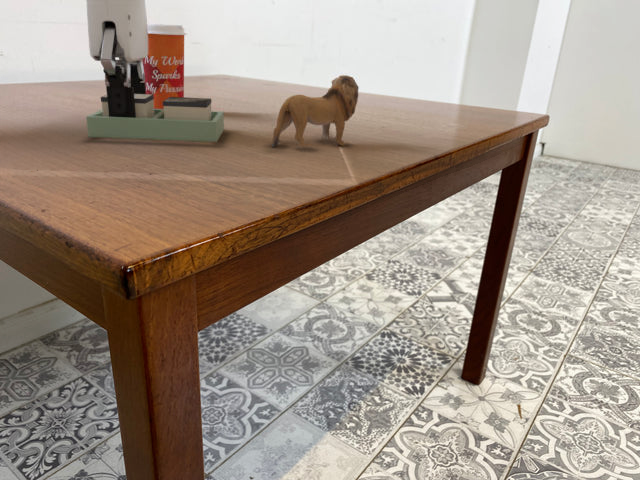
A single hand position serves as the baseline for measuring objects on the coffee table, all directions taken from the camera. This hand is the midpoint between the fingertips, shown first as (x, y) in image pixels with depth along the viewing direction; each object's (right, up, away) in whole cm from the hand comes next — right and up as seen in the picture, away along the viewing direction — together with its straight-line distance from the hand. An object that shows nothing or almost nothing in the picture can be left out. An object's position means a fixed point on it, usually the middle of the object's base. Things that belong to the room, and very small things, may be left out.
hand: (129, 113), depth 69 cm
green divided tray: (+4, -3, +1) cm, 5 cm away
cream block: (0, -2, +1) cm, 2 cm away
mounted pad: (+8, -2, +1) cm, 8 cm away
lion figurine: (+25, -4, +2) cm, 25 cm away
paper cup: (0, +4, +18) cm, 18 cm away
